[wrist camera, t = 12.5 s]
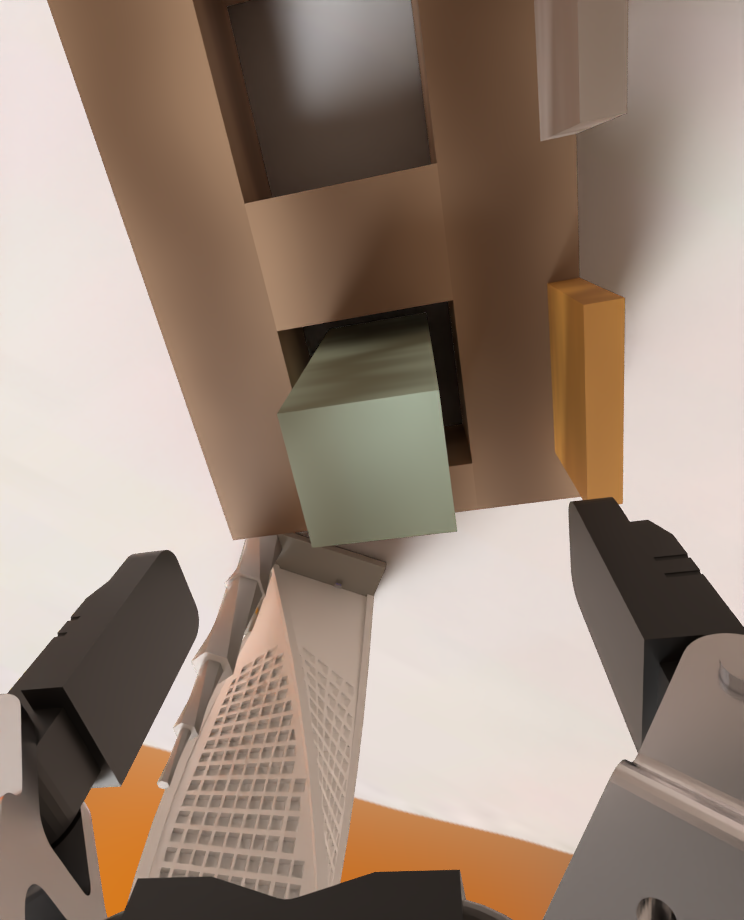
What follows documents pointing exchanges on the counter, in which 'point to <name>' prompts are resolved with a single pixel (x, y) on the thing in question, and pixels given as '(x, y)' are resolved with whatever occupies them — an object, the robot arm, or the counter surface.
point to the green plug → (370, 436)
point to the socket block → (373, 238)
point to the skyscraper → (271, 725)
